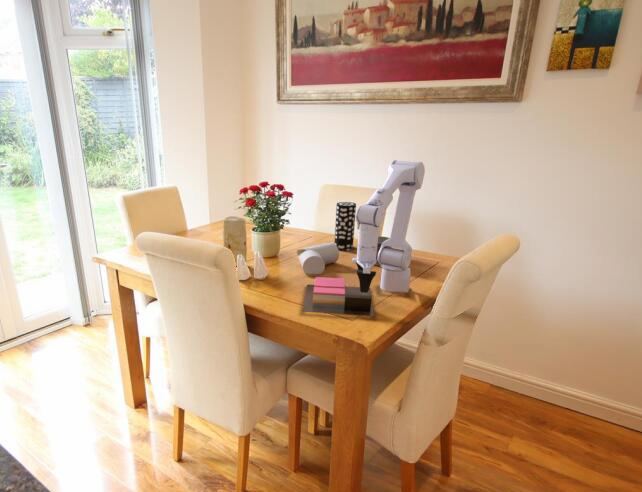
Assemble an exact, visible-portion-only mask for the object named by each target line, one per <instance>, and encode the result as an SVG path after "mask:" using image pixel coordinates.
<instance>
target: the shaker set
mask: <svg viewBox="0 0 642 492" xmlns="http://www.w3.org/2000/svg"><path fill="white" fill-rule="evenodd" d="M237 271H238V276H239V280H238V281H246V280H248V279H249V278H250V277H252V274H251V271H250V269H249V266H248V264H247V262H245V259H244V257H243V255H242V254H241V258H240V255H238V256H237V267H236V272H237ZM268 274H269V270H268V268H267V264H266V263H265V260H264V258H263V255H262V253H261V251H259V250H258V251H255V252H254V263H253V278H254V279H257V280H258V281H262V280H265V279H266V278H267V276H268Z"/></svg>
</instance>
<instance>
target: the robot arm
mask: <svg viewBox="0 0 642 492" xmlns="http://www.w3.org/2000/svg"><path fill="white" fill-rule="evenodd" d="M425 171H426V169H425V164H424V162H423V161H405V160H397V159H394V160H392V161H391V162H390V163H389V166H388V170H387V178H386V180H385V182H384V183H383V185H382V187H379V188H377V189H376V190H375V191H374V193H373V194H372V195H371V196H370V198H369V199H368V201H367V202H366V203H365V204H362V205H360V206H358V209H357V210H356V214H355V222H356V229H357V230H358V235H357V247H356V248H357V249H356V257H352V259H351V260H352V261H351V262H353V263H355V264H356V267H357V269H356V270H355V271H356V272H355V273H356V275H357V278H358V281H359V287H360V291H361V292H363V293H368V291H369V288H370V289H371V284H372V282H373V280H374V278H375V276H376V275H377V271H375V270H374V271H372V268H373V267H374V266H376V265H375V264H376V261H377V260H376V254H377V244H378V236H379V233H380V226H381V225H382V224H383V221H384V218H385V216H386V213H387V212H386V211H387V209H388V208H389V206H390V205H391V203H392V202H393V201H394V196H393V194H395V192H396V191H397V190H398V191H399V193H398V196H397V202H396V206H395V207H396V208H395V213H394V217H393V222H392V227H391V231H390V236H389V238H390V239H388V240H386V241H384V242H383V243H382V245H381V248H380V250H379V253H378V262H379V264H381V266H379V267H380V268H381V275H380V276H381V277H380V284H379V285H380V286H379V288H380V290H381V291H383V292H387V293H405V294H406V293H407V294H408V293H409V291H410V283H411V275H412V274H411V273H412V272H411V268H410V267H409V266H411V265H410V264H411V262H412V252H413V251H412V250H413V248H412V246H411V244H409V242H408V241H407V240H406V237H407V233H408V228H409V224H410V219H411V214H412V210H413V205H414V200H415V196H416V192H417V191H419V190H421V189H422V186H423V183H424V177H425V173H426V172H425ZM389 247H392V248H389Z"/></svg>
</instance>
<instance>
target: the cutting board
mask: <svg viewBox="0 0 642 492" xmlns="http://www.w3.org/2000/svg"><path fill="white" fill-rule="evenodd" d="M314 285H315V284H307V285H306V289H305V294H304V300H303V304H302V310H301V311H302V312H304V313H319V314H320V313H321V314H335V315H336V314H337V315H349V316H350V315H351V316H367V317H375V312H374V304H373V300H372V301H371V311H370V312H365V311H349V310H344V309H339V308H323V307H313V292H314ZM345 294H348V295H366V296H371V297H372V290H371V287H370V288H369V291H368V293H363V292H361V291H360V286H346V285H345Z"/></svg>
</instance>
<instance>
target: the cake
mask: <svg viewBox="0 0 642 492" xmlns="http://www.w3.org/2000/svg"><path fill="white" fill-rule="evenodd" d="M313 285H314V287H322V288H341V289H345V286H346V278H344V277H325V276H323V277H321V276H315V279H314V284H313Z"/></svg>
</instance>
